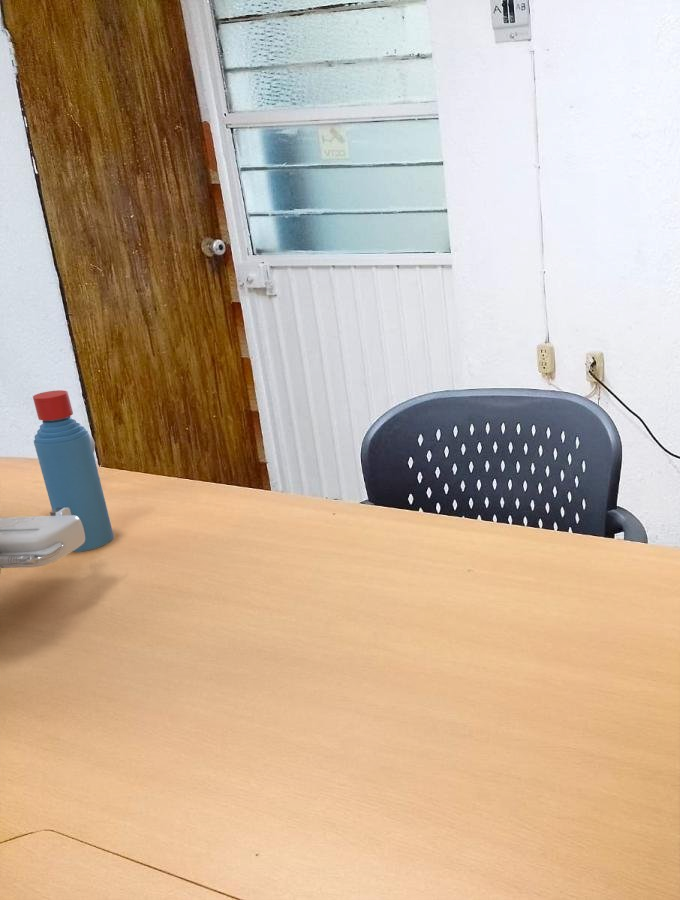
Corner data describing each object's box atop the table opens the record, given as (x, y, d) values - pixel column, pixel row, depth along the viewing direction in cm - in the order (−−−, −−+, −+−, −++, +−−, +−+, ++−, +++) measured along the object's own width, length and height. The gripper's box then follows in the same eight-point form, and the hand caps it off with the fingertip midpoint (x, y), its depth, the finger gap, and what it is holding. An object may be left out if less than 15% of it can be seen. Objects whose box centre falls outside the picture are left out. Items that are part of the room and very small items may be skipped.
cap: (32, 421, 110) (26, 399, 109) (45, 413, 114) (39, 391, 113) (66, 419, 111) (60, 396, 110) (77, 410, 114) (72, 389, 113)
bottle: (54, 554, 115) (14, 406, 108) (72, 535, 121) (35, 393, 114) (105, 549, 116) (68, 402, 109) (120, 530, 122) (86, 389, 115)
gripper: (38, 535, 92) (104, 488, 105) (-149, 542, 92) (-59, 493, 105) (52, 585, 94) (115, 533, 107) (-131, 592, 94) (-45, 538, 107)
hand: (28, 514), depth 106 cm, fingers open, 8 cm apart
